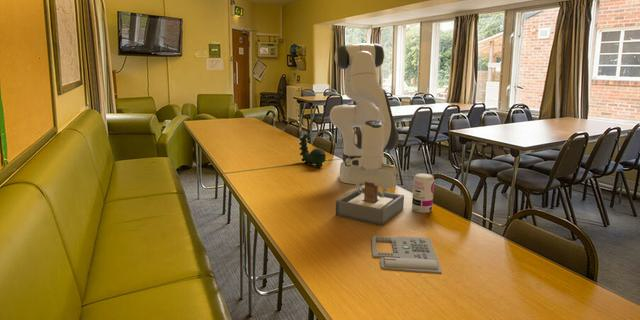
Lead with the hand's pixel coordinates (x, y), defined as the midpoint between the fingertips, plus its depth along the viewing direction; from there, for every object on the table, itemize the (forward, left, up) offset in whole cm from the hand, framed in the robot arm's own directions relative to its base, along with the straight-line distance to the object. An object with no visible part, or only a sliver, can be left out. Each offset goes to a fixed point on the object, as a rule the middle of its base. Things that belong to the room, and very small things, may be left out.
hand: (370, 195), depth 165 cm
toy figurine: (-52, -62, -8) cm, 81 cm away
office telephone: (+28, +25, -8) cm, 38 cm away
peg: (0, 0, -6) cm, 6 cm away
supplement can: (-14, +17, -8) cm, 23 cm away
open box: (0, 0, -7) cm, 7 cm away
